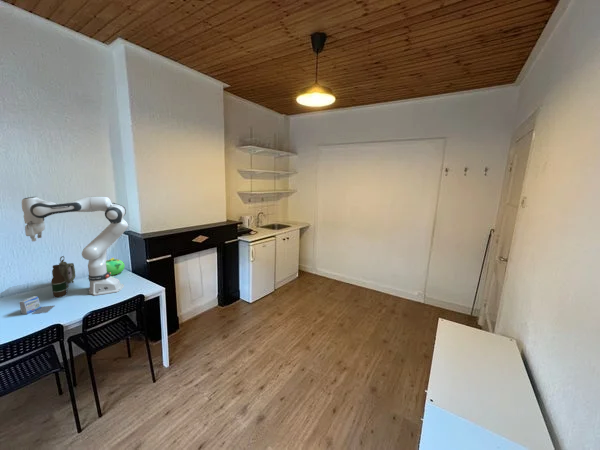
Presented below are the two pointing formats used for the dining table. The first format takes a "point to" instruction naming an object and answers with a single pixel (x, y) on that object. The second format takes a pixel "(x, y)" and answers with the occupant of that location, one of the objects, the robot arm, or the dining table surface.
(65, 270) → the old metal lantern
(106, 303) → the dining table surface
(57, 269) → the beer bottle
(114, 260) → the toy bird
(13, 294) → the dining table surface
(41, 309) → the mat
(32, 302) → the medicine box
